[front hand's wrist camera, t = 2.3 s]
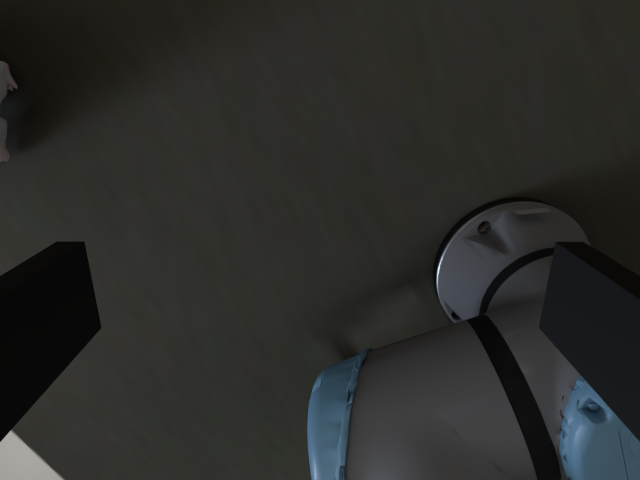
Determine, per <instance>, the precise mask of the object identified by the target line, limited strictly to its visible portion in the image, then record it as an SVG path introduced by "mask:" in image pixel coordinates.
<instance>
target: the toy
mask: <svg viewBox="0 0 640 480" xmlns="http://www.w3.org/2000/svg"><path fill="white" fill-rule="evenodd" d="M13 87H14V88H16V89H17V88H18V86H17V84H16V83H15V81H14V80H13V78H12V76H11V74H10V71H9V66H8V64H7V63H5V62H3V61H0V105H1V103H2V100H3V99H4V98H5V97H6V95H7V89H8V90H9V89H10V90H11V91H13ZM6 137H7V121H6V120H5V119H3V118H2V117H0V162H3V160H4V161H8V159H10V154H9V152H8V150H7V148H6Z"/></svg>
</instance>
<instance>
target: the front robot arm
mask: <svg viewBox="0 0 640 480" xmlns="http://www.w3.org/2000/svg"><path fill="white" fill-rule="evenodd" d="M433 281H434V288H435V292H436V295H437V297H438V299H439V301H440V303H441V305H442V307H443V309H444V311H445V312H446V314H447V315H448V317H449V318H450V319H451V320H452V321H453V322H454V324H451V325H448V326H445V327H442V328H438V329H435V330H432V331H429V332H426V333H423V334H420V335H417V336H414V337H411V338H408V339H405V340H402V341H399V342H395V343H392V344H389V345H386V346H383V347H380V348H377V349H374V350H373V349H372V348H368V349H365V350H364V351H362V353H361V354H360V355H357V356H354V357H352V358H349V359H347V360H344V361H341V362H339V363H336V364H334V365H331V366H329V367H328V368H326V369H325V370H324V371H323V372H322V373H321V374H320V375H319V376H318V378H317V380H316V382H315V384H314V386H313V389H312V394H311V398H310V402H309V410H308V451H309V462H310V470H311V477H312V480H640V276H639V275H637V274H635V273H634V272H632V271H630V270H629V269H627V268H626V267H624V266H622V265H621V264H619V263H617V262H616V261H614V260H612V259H611V258H609V257H608V256H606V255H604V254H603V253H601V252H599V251H598V250H596V249H594V248H593V247H591V245H590V243H589V241H588V238H587V237H586V235H585V233H584V231H583V230H582V228H581V227H580V226H579V225H578V223H577V222H576V221H575V220H574V219H573V218H572V217H570V216H569V215H568V214H566V213H565V212H563V211H561V210H559V209H558V208H556V207H554V206H552V205H550V204H548V203H546V202H543V201H540V200H536V199H531V198H507V199H502V200H497V201H494V202H491V203H488V204H485V205H483V206H481V207H479V208H477V209H475V210H474V211H472V212H470V213H469V214H467V215H466V216H465V217H463V218H462V219H461V220H460V221H459V222H458V223H457V224H456V225H455V226H454V227H453V228H452V229H451V230H450V231H449V233H448V234H447V235H446V237H445V238H444V240H443V242H442V244H441V245H440V248H439V250H438V252H437V255H436V258H435V263H434V269H433ZM100 329H101V323H100V318H99V313H98V308H97V303H96V298H95V293H94V288H93V283H92V278H91V273H90V268H89V263H88V258H87V253H86V248H85V243H84V242H55V243H54V244H52V245H51V246H49V247H47V248H46V249H44V250H42V251H41V252H39V253H37V254H36V255H34V256H32V257H31V258H29V259H28V260H26V261H24V262H23V263H21V264H19V265H18V266H16V267H14V268H13V269H11V270H10V271H8V272H6V273H5V274H3V275H1V276H0V442H1V440H2V439H3V438H4V437H5V436H6V435H7V434H8V433H9V431H10V430H11V429H12V428H13V427H14V426H15V425H16V424H17V422H18V421H19V420H20V419H21V418H22V417H23V416H24V415H25V413H26V412H27V411H28V410H29V409H30V408H31V407H32V406H33V404H34V403H35V402H36V401H37V400H38V399H39V398H40V396H41V395H42V394H43V393H44V392H45V391H46V390H47V389H48V387H49V386H50V385H51V384H52V383H53V382H54V381H55V380H56V378H57V377H58V376H59V375H60V374H61V373H62V372H63V371H64V369H65V368H66V367H67V366H68V365H69V364H70V363H71V362H72V360H73V359H74V358H75V357H76V356H77V355H78V354H79V352H80V351H81V350H82V349H83V348H84V347H85V346H86V345H87V343H88V342H89V341H90V340H91V339H92V338H93V337H94V336H95V334H96V333H97V332H98V331H99V330H100Z"/></svg>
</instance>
